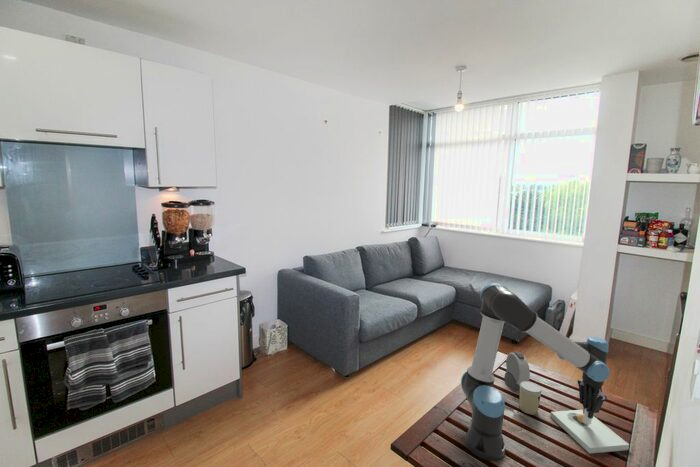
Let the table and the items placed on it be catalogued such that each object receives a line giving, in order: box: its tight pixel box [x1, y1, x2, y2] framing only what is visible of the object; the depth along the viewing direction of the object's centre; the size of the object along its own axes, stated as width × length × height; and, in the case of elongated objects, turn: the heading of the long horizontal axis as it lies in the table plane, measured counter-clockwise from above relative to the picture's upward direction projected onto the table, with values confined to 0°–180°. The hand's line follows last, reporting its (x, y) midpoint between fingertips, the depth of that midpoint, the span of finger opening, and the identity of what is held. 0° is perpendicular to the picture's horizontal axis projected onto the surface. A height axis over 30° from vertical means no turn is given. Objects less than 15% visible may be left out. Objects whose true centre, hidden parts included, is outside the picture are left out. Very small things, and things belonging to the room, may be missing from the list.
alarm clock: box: [503, 350, 531, 392], centre depth 181 cm, size 16×10×18 cm, turn 179°
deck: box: [550, 409, 630, 454], centre depth 147 cm, size 22×18×2 cm
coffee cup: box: [518, 380, 543, 415], centre depth 161 cm, size 9×9×12 cm
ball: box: [578, 414, 584, 423], centre depth 150 cm, size 4×4×4 cm
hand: (586, 422), depth 147 cm, fingers closed
